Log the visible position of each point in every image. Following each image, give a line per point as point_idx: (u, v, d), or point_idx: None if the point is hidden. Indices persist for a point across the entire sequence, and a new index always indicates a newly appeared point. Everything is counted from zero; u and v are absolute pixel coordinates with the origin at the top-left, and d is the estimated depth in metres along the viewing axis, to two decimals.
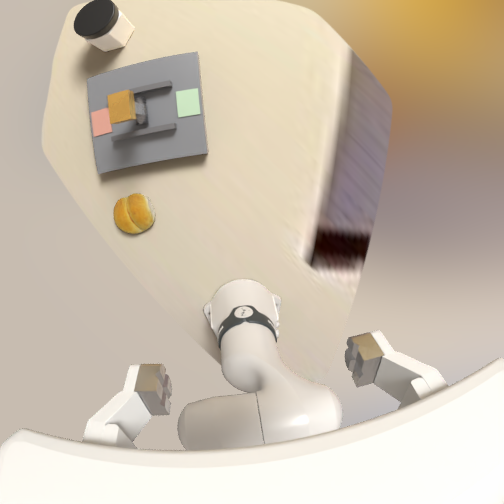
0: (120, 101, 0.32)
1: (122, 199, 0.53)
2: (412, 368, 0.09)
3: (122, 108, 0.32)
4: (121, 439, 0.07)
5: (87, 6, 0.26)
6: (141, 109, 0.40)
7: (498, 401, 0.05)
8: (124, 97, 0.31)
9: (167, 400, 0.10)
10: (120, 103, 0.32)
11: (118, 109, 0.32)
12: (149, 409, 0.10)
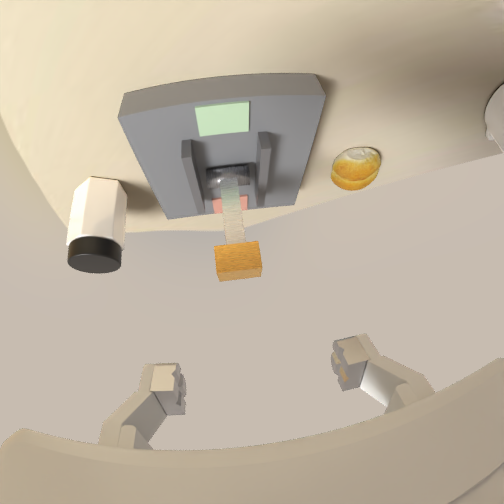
0: (232, 275, 0.28)
1: (333, 177, 0.42)
2: (398, 373, 0.09)
3: (243, 273, 0.28)
4: (138, 440, 0.07)
5: (81, 270, 0.36)
6: (230, 193, 0.31)
7: (498, 401, 0.05)
8: (228, 273, 0.28)
9: (182, 400, 0.10)
10: (236, 274, 0.28)
11: (243, 274, 0.29)
12: (164, 409, 0.10)
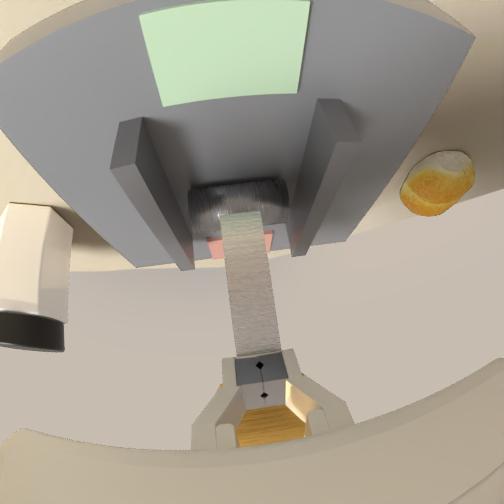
0: None
1: (405, 196, 0.24)
2: (315, 397, 0.08)
3: None
4: (236, 438, 0.07)
5: (14, 348, 0.18)
6: (247, 255, 0.13)
7: (498, 401, 0.05)
8: None
9: (263, 392, 0.10)
10: None
11: None
12: (245, 403, 0.10)
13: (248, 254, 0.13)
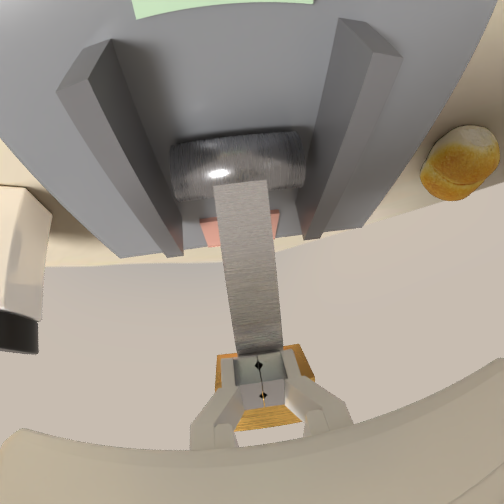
0: None
1: (427, 176, 0.20)
2: (315, 397, 0.08)
3: None
4: (234, 439, 0.07)
5: None
6: (249, 239, 0.11)
7: (498, 401, 0.05)
8: None
9: (261, 392, 0.10)
10: None
11: None
12: (244, 404, 0.10)
13: (250, 238, 0.11)
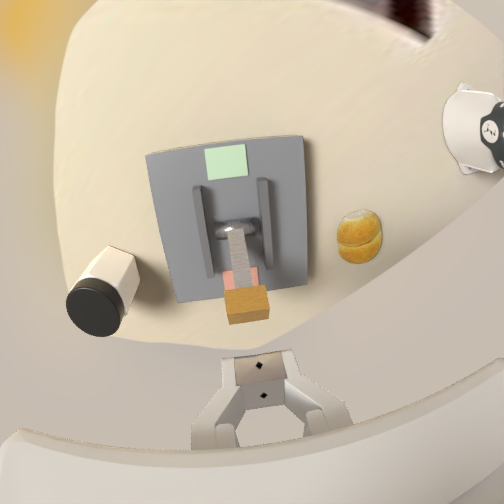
0: (242, 316, 0.29)
1: (341, 250, 0.44)
2: (314, 397, 0.08)
3: (252, 314, 0.29)
4: (235, 438, 0.07)
5: (77, 323, 0.32)
6: (237, 243, 0.34)
7: (498, 401, 0.05)
8: (237, 315, 0.29)
9: (262, 392, 0.10)
10: (245, 316, 0.30)
11: (252, 316, 0.30)
12: (245, 403, 0.10)
13: (238, 243, 0.34)
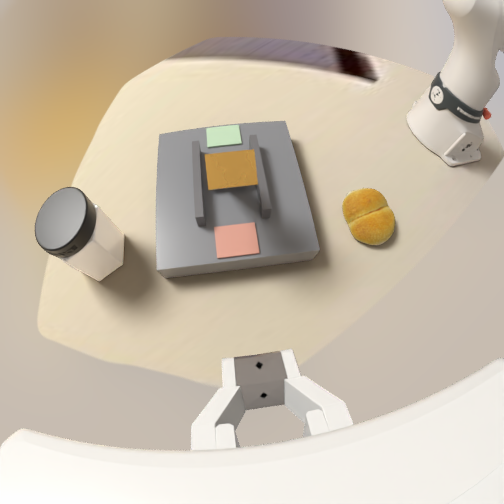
0: (222, 166, 0.24)
1: (352, 227, 0.38)
2: (314, 397, 0.08)
3: (235, 162, 0.24)
4: (235, 438, 0.07)
5: (38, 231, 0.25)
6: None
7: (498, 401, 0.05)
8: (217, 159, 0.24)
9: (262, 392, 0.10)
10: (226, 167, 0.24)
11: (235, 169, 0.24)
12: (245, 403, 0.10)
13: None
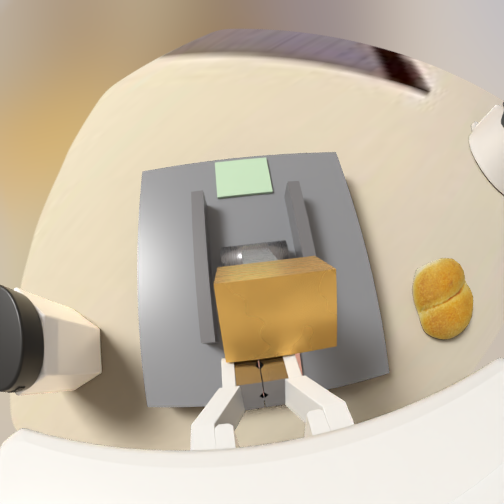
0: (260, 312, 0.10)
1: (425, 320, 0.24)
2: (315, 397, 0.08)
3: (290, 303, 0.10)
4: (235, 438, 0.07)
5: None
6: (258, 253, 0.19)
7: (498, 401, 0.05)
8: (245, 297, 0.10)
9: (262, 392, 0.10)
10: (269, 314, 0.10)
11: (291, 319, 0.10)
12: (245, 404, 0.10)
13: (258, 253, 0.19)
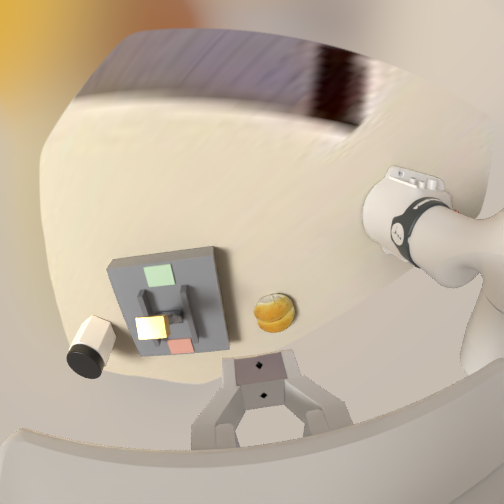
0: (146, 326, 0.38)
1: (258, 323, 0.58)
2: (315, 397, 0.08)
3: (152, 324, 0.39)
4: (235, 438, 0.07)
5: (75, 370, 0.46)
6: None
7: (498, 401, 0.05)
8: (142, 322, 0.39)
9: (262, 392, 0.10)
10: (148, 326, 0.39)
11: (153, 328, 0.39)
12: (245, 404, 0.10)
13: None
